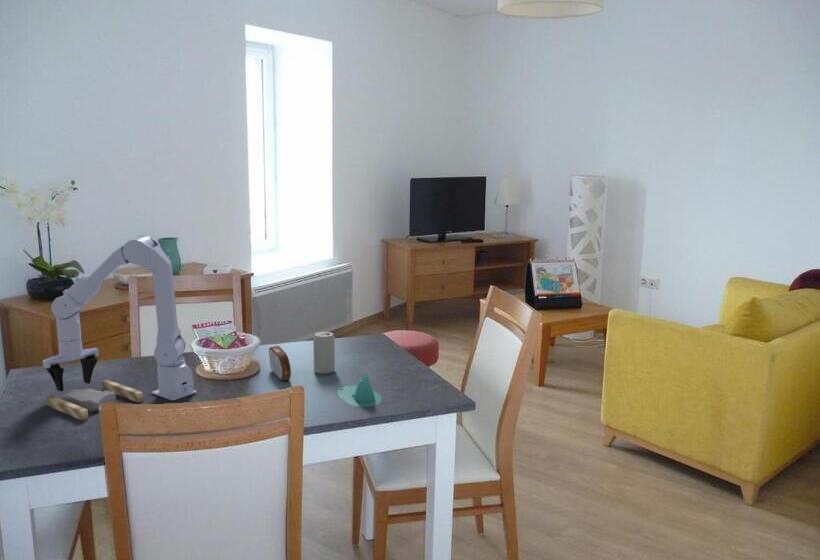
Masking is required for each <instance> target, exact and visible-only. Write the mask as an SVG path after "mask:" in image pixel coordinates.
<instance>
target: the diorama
mask: <svg viewBox="0 0 820 560" xmlns="http://www.w3.org/2000/svg"><path fill="white" fill-rule="evenodd" d="M336 395H337V396H338V398H339V399H341V400H343V401H344V402H345V403H346V404H347V405H350V406H353V407H359V408H364V407H365V408H366V407H367V408H368V407H369V408H370V407H375V406H377V405H379V404H380V403H381V402H382V400H383V398H382V396H381V395H380V393H378V392H377V391H375V390H373V387H372V384H371V381H370V377H369V374H368V371H364V372H363V373H362V379H360V380H359V381H358V384H357V385H352V384H351V385H345V386H342V387H339V388H338V389H336Z"/></svg>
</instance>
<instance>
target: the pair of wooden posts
mask: <svg viewBox="0 0 820 560" xmlns="http://www.w3.org/2000/svg"><path fill="white" fill-rule="evenodd" d="M101 385H102V387H101V388H102V391H105V390H108V391H114V392H115V396H116V395H117V396H119V397H122V398H125V399H127V400H130V401H133V402H136V403H138V404H139V403H142V402H144V392H143V391H141V390H137V389H135V388H133V387H129V386H126V385H123V384H121V383H118V382H115V381H112V380H109V379H104V380H101ZM61 398H62V397H59V396H56V395H54V394H50V395H48V396H46V403H47V404H46V405H47V406H48V407H50V408H52V409H54V410H57V411H59V412H61V413H64V414H66V415H68V416H71V417H73V418H75V419H77V420H80V421H82V422H84V421H88V420H89V411H88V410H87V409H85V408H83V407H80V406H78V405H75V404H73V403H70V402H68V401H66V400H63V399H61Z"/></svg>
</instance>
